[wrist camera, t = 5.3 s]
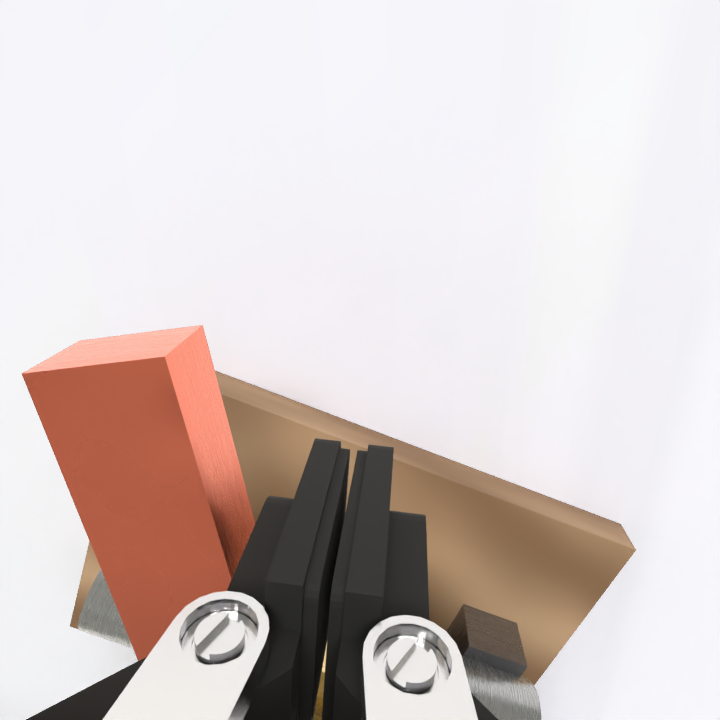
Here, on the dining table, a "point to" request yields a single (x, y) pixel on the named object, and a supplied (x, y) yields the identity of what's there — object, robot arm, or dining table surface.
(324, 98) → the dining table surface
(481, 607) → the base board
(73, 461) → the lever
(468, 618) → the ball valve
